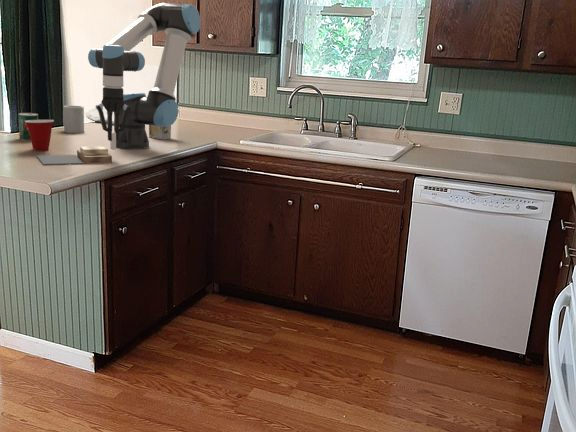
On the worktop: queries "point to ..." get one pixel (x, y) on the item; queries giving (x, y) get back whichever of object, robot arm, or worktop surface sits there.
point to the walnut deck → (94, 158)
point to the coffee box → (160, 132)
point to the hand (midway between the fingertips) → (113, 149)
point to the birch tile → (93, 150)
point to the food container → (95, 116)
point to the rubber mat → (59, 159)
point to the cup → (74, 119)
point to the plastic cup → (40, 133)
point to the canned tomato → (25, 125)
